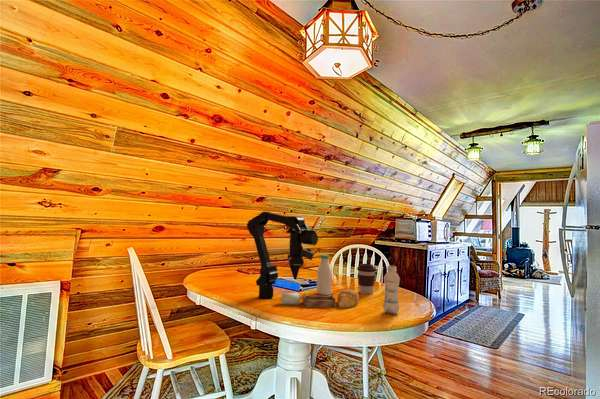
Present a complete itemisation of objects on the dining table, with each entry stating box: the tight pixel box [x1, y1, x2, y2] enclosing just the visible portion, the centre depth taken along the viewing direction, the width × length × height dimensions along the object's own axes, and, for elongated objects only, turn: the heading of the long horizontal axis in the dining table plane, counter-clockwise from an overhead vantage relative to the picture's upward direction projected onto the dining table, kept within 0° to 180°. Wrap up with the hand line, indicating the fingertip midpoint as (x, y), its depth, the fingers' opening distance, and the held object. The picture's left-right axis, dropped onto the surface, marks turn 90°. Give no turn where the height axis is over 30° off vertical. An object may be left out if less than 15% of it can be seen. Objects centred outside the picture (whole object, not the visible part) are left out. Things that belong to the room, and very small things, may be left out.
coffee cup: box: [356, 263, 377, 295], centre depth 173 cm, size 10×10×15 cm
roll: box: [280, 292, 301, 306], centre depth 147 cm, size 8×5×5 cm, turn 93°
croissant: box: [337, 288, 360, 309], centre depth 151 cm, size 21×10×8 cm, turn 153°
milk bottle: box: [316, 254, 333, 296], centre depth 169 cm, size 8×8×20 cm
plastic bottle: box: [382, 265, 401, 315], centre depth 138 cm, size 6×7×20 cm
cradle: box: [302, 292, 336, 308], centre depth 148 cm, size 14×8×4 cm, turn 93°
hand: (294, 277), depth 149 cm, fingers open, 9 cm apart
